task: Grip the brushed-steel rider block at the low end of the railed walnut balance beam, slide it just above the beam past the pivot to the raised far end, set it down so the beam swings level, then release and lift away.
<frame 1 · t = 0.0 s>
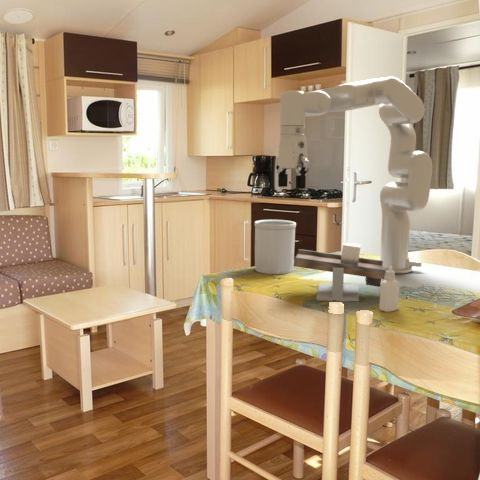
hand: (291, 187, 183), 31 cm above the table, tool pointing down, fingers open, 9 cm apart
eye dropper bottle: (388, 310, 159), on the table
beam: (338, 268, 175), point 8 cm above the table, hinge at -6.2°, touching rider
rider: (348, 264, 174), point 9 cm above the table, tilted 6°, touching beam
utensil holder: (274, 270, 209), on the table
fulcrum: (337, 293, 176), on the table
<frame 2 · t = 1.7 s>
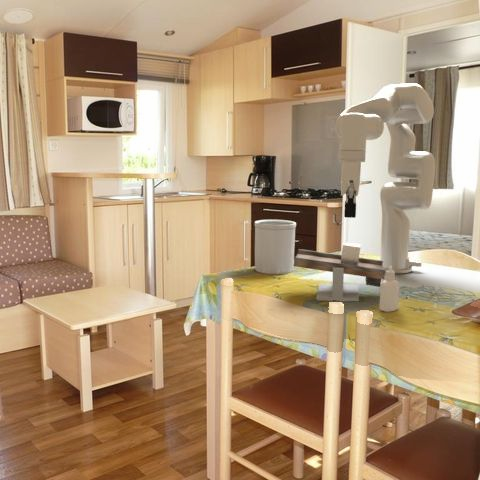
hand: (349, 215, 171), 24 cm above the table, tool pointing down, fingers open, 9 cm apart
nothing on the table moved.
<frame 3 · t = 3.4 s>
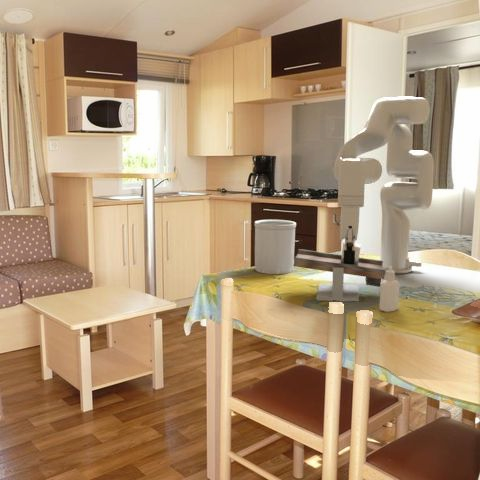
hand: (349, 261, 174), 10 cm above the table, tool pointing down, fingers closed on rider, 5 cm apart
rider: (348, 264, 174), point 9 cm above the table, tilted 6°, touching beam, gripper
everything else where it was.
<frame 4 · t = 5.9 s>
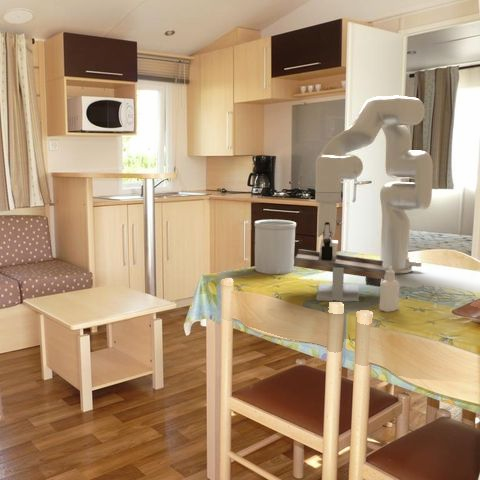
hand: (327, 257, 175), 11 cm above the table, tool pointing down, fingers closed on rider, 5 cm apart
beam: (338, 268, 175), point 8 cm above the table, hinge at -6.2°
rider: (327, 260, 175), point 10 cm above the table, tilted 6°, touching gripper
everything else where it was.
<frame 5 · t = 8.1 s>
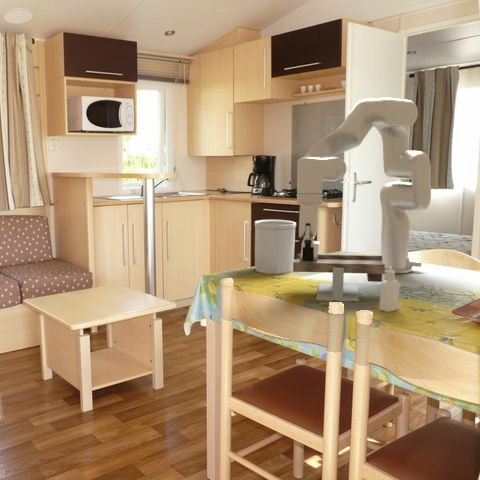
hand: (308, 258, 176), 11 cm above the table, tool pointing down, fingers closed on rider, 5 cm apart
beam: (338, 268, 175), point 8 cm above the table, hinge at 0.9°, touching rider
rider: (308, 261, 176), point 10 cm above the table, tilted 5°, touching beam, gripper
everything else where it was.
when the fingers open (10 cm above the table, at t = 8.8 s): rider stays where it is, resting on beam.
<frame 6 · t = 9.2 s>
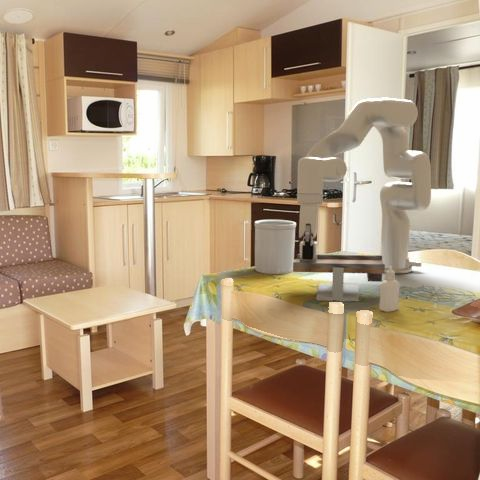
hand: (308, 256, 176), 11 cm above the table, tool pointing down, fingers open, 9 cm apart
rider: (308, 262, 177), point 9 cm above the table, touching beam
everything else where it was.
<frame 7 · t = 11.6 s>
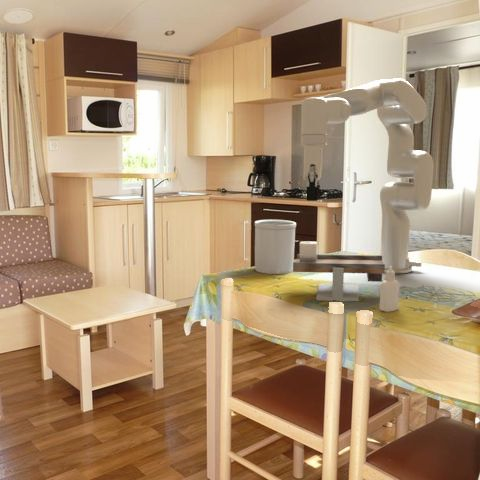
hand: (313, 199, 174), 28 cm above the table, tool pointing down, fingers open, 9 cm apart
nothing on the table moved.
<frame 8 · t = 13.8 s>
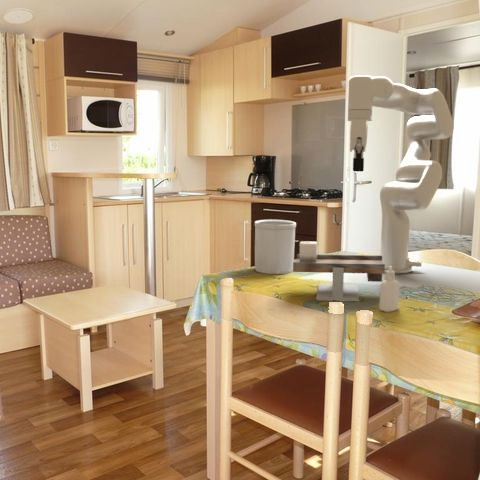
hand: (358, 170, 187), 36 cm above the table, tool pointing down, fingers open, 9 cm apart
nothing on the table moved.
at the end: beam at +1° (first picture: -6°); rider 0.3 cm from the target spot on the beam, point 1.3 cm above the beam's base; rider tilted 1° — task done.
